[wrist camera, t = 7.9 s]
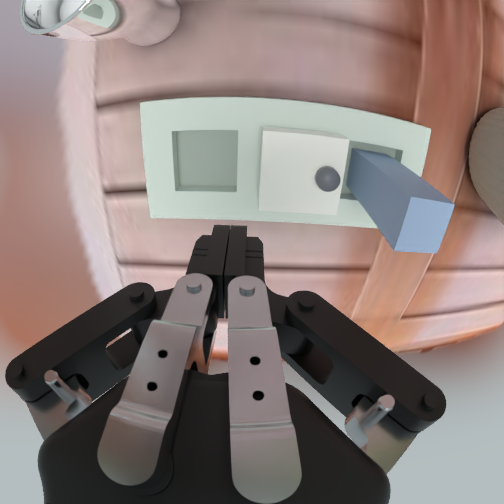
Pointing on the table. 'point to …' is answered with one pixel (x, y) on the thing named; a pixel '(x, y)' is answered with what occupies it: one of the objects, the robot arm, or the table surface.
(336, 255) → the table surface
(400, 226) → the peg
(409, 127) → the board
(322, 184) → the lid
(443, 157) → the table surface
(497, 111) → the canister
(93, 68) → the table surface
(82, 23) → the beer glass
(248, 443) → the robot arm
